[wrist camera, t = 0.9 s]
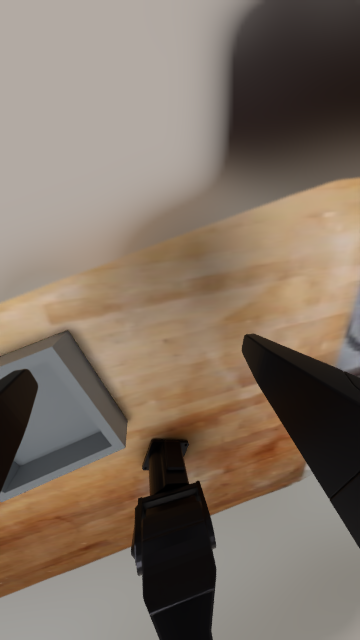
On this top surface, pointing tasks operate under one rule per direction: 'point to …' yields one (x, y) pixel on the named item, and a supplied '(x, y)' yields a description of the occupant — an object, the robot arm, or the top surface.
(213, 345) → the top surface
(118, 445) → the tray
